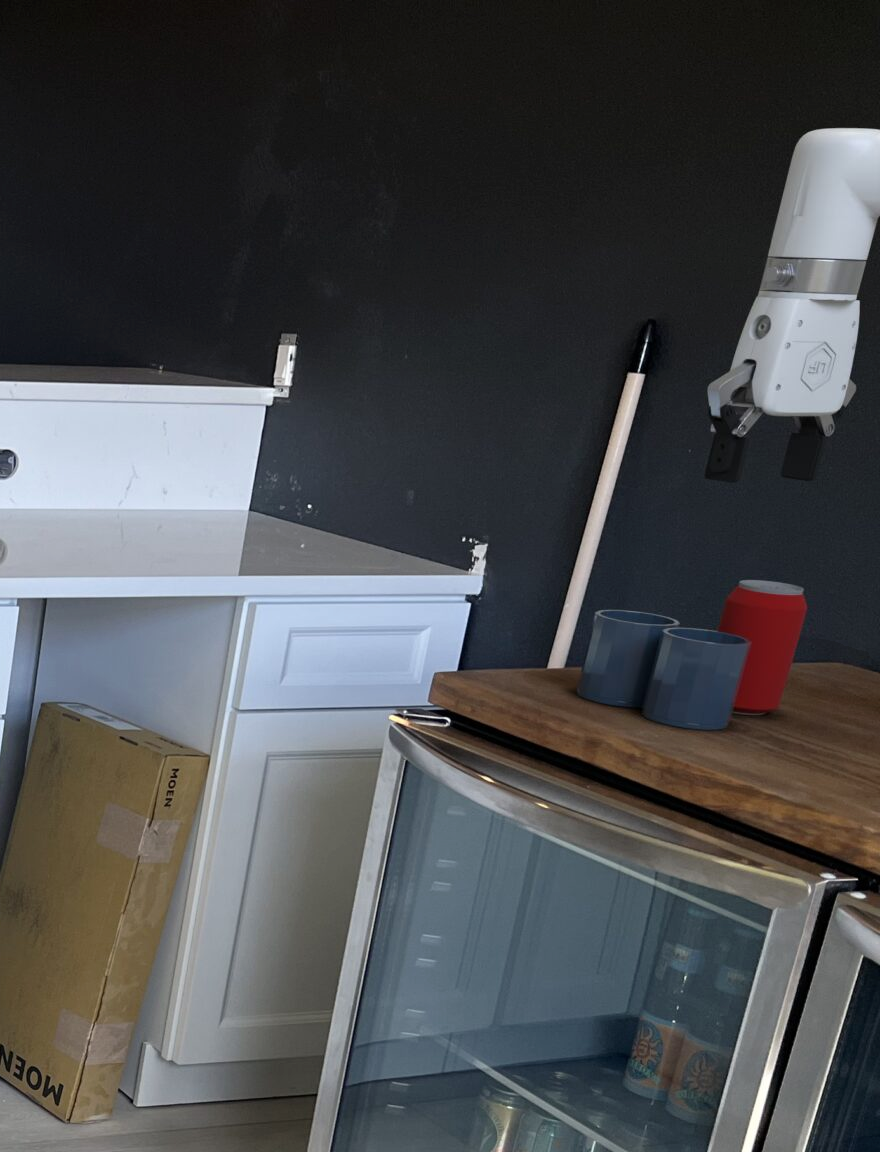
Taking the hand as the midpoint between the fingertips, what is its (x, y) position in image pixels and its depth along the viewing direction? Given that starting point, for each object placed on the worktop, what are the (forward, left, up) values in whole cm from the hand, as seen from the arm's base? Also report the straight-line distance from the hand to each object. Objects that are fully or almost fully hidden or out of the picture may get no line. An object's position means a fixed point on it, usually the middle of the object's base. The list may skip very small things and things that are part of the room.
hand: (759, 479), depth 172 cm
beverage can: (-4, -4, -22) cm, 23 cm away
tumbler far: (+7, -2, -22) cm, 23 cm away
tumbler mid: (+2, +4, -22) cm, 22 cm away
